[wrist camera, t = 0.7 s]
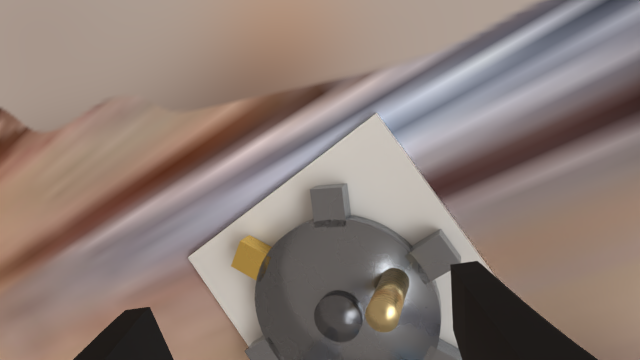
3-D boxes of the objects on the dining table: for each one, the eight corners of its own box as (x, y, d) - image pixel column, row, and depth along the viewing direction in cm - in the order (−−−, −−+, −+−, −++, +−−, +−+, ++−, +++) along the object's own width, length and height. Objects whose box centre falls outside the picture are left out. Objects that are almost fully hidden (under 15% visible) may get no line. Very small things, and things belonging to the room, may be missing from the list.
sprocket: (526, 347, 27) (544, 415, 21) (320, 439, 33) (289, 511, 27) (377, 140, 27) (354, 150, 22) (203, 268, 33) (148, 303, 28)
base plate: (552, 354, 27) (553, 358, 26) (326, 451, 34) (324, 456, 33) (377, 113, 28) (375, 113, 27) (191, 255, 35) (187, 257, 34)
